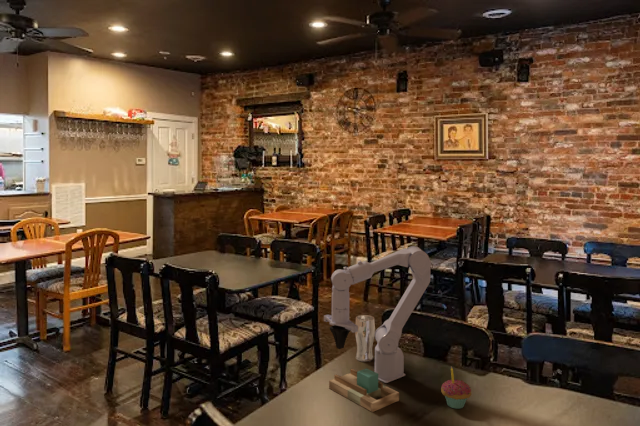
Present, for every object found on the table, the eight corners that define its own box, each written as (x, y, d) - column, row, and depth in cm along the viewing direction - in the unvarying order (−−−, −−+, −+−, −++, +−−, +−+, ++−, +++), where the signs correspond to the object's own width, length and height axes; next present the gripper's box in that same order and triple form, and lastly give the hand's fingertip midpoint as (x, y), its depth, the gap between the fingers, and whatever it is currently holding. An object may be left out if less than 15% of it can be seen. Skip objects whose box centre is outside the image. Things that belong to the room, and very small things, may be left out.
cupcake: (454, 414, 143) (455, 373, 141) (434, 401, 150) (435, 362, 149) (477, 407, 147) (478, 367, 145) (456, 395, 154) (457, 357, 153)
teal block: (366, 383, 156) (366, 368, 156) (378, 389, 152) (378, 373, 152) (356, 387, 154) (357, 371, 153) (368, 393, 150) (368, 377, 149)
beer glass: (373, 363, 178) (374, 321, 176) (353, 361, 179) (354, 320, 178) (375, 355, 185) (375, 315, 183) (356, 354, 186) (356, 314, 184)
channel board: (355, 378, 165) (355, 366, 165) (398, 400, 151) (399, 387, 150) (329, 388, 159) (329, 376, 158) (372, 412, 144) (372, 398, 143)
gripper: (316, 304, 167) (316, 344, 169) (346, 315, 156) (346, 357, 157) (333, 300, 172) (332, 339, 173) (363, 310, 160) (362, 352, 162)
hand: (340, 347), depth 166 cm, fingers closed
